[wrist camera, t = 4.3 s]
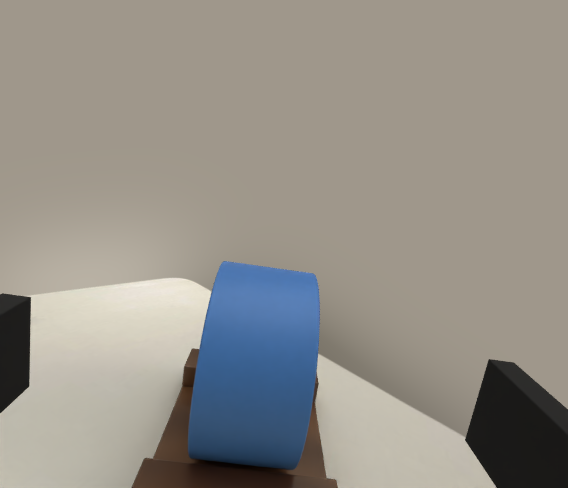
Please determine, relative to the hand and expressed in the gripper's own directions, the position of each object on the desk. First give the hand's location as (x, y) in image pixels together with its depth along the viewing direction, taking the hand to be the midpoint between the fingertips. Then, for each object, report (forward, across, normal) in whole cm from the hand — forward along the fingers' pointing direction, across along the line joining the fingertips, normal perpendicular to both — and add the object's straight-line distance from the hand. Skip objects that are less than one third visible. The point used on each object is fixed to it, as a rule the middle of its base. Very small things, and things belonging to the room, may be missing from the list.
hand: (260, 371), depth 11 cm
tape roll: (+9, 0, -10) cm, 14 cm away
